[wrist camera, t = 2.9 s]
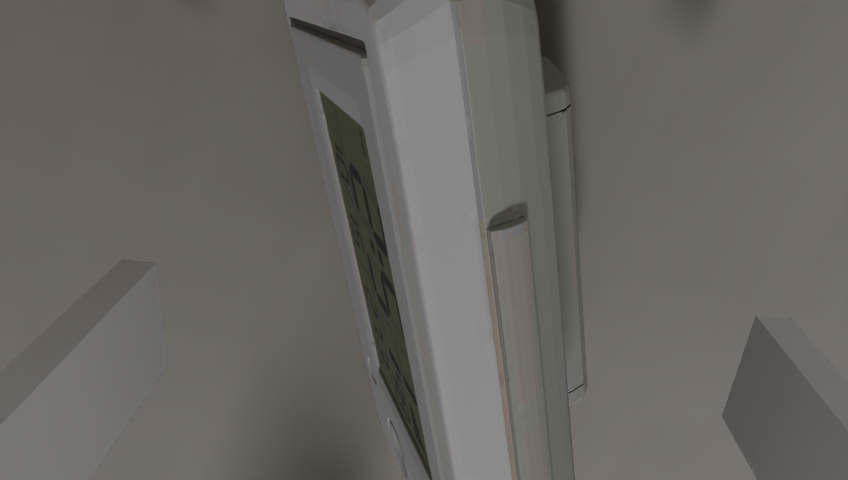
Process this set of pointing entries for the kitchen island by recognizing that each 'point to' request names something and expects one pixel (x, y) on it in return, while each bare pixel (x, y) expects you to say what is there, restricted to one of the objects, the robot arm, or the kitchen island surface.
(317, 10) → the digital clock
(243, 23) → the kitchen island surface
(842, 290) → the kitchen island surface
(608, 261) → the kitchen island surface
